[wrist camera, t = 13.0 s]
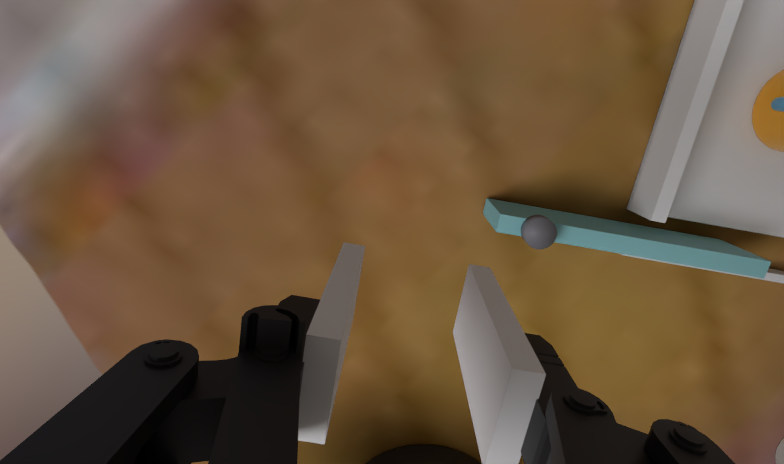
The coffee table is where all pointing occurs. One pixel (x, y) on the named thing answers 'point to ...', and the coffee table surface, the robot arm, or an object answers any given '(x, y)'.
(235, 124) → the coffee table surface
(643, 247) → the gate
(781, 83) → the orange tube with rings
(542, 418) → the robot arm
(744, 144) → the white square tray
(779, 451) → the coffee cup
